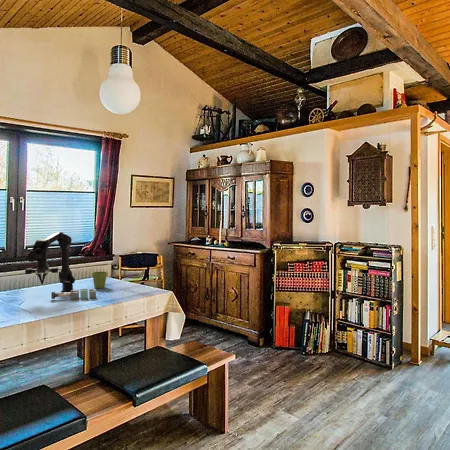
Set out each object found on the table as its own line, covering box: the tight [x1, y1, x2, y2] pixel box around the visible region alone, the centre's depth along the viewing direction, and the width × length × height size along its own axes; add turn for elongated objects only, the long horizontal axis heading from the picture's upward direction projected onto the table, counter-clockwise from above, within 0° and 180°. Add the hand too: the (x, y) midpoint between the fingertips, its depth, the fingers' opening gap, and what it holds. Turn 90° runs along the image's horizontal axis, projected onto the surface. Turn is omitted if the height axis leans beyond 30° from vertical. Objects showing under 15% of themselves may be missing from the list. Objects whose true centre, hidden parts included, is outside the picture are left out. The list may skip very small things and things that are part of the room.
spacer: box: [79, 288, 89, 300], centre depth 256 cm, size 4×6×6 cm
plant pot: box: [91, 271, 109, 289], centre depth 289 cm, size 12×12×11 cm
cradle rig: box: [70, 288, 97, 301], centre depth 256 cm, size 16×8×5 cm, turn 111°
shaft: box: [50, 291, 71, 300], centre depth 252 cm, size 16×4×4 cm, turn 111°
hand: (42, 284), depth 247 cm, fingers closed
